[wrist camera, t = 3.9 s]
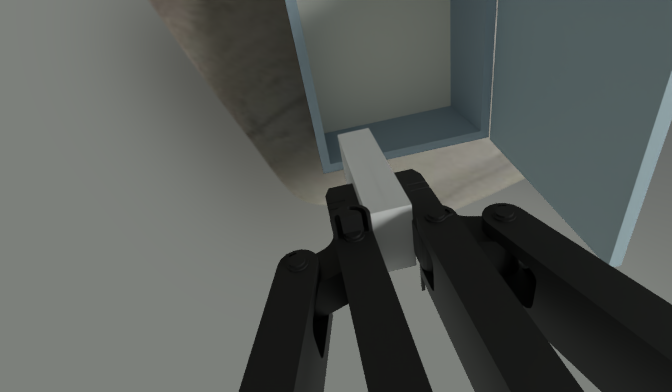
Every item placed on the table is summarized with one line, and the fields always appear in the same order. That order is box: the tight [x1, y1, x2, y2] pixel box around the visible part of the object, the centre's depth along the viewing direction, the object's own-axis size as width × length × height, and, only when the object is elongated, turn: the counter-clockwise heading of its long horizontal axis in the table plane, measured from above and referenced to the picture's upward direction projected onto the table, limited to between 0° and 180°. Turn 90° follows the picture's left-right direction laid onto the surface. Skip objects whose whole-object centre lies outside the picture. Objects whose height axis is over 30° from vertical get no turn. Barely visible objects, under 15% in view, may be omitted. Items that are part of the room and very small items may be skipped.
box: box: [285, 0, 496, 173], centre depth 34 cm, size 18×16×8 cm
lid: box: [490, 0, 672, 267], centre depth 23 cm, size 18×17×1 cm
